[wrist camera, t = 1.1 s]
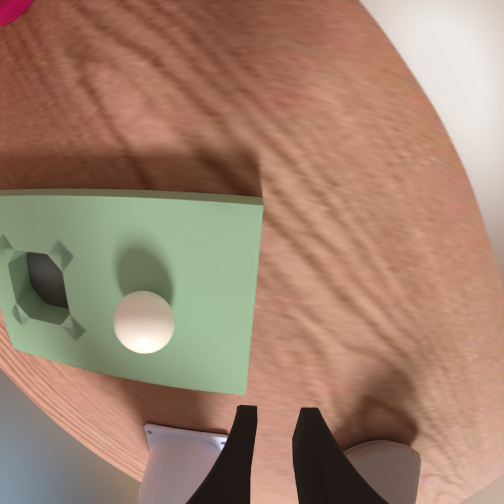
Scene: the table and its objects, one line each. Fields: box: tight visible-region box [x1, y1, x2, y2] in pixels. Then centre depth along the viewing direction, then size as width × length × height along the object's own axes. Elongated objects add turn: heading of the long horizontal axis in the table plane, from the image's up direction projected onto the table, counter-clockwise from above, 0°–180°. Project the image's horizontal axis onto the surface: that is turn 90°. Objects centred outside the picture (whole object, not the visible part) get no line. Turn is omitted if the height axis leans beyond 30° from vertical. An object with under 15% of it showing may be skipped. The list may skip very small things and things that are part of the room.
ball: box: [113, 291, 175, 354], centre depth 17 cm, size 4×4×4 cm
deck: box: [0, 188, 264, 395], centre depth 19 cm, size 13×20×2 cm, turn 85°
